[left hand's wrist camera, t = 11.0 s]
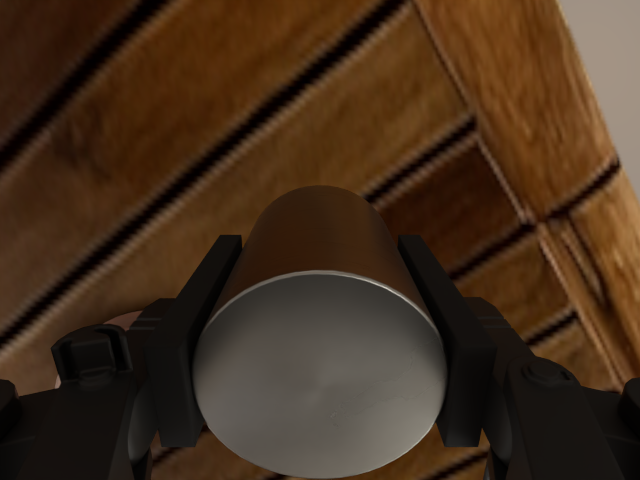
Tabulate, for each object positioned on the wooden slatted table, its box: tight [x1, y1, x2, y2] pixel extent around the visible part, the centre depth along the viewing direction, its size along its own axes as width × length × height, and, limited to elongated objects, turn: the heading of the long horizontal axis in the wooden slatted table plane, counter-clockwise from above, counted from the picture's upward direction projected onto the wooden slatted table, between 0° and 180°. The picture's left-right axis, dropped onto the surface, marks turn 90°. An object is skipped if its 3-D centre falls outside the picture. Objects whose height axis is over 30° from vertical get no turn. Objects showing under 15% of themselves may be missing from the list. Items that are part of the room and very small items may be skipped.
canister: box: [191, 185, 450, 479], centre depth 12 cm, size 6×6×7 cm
